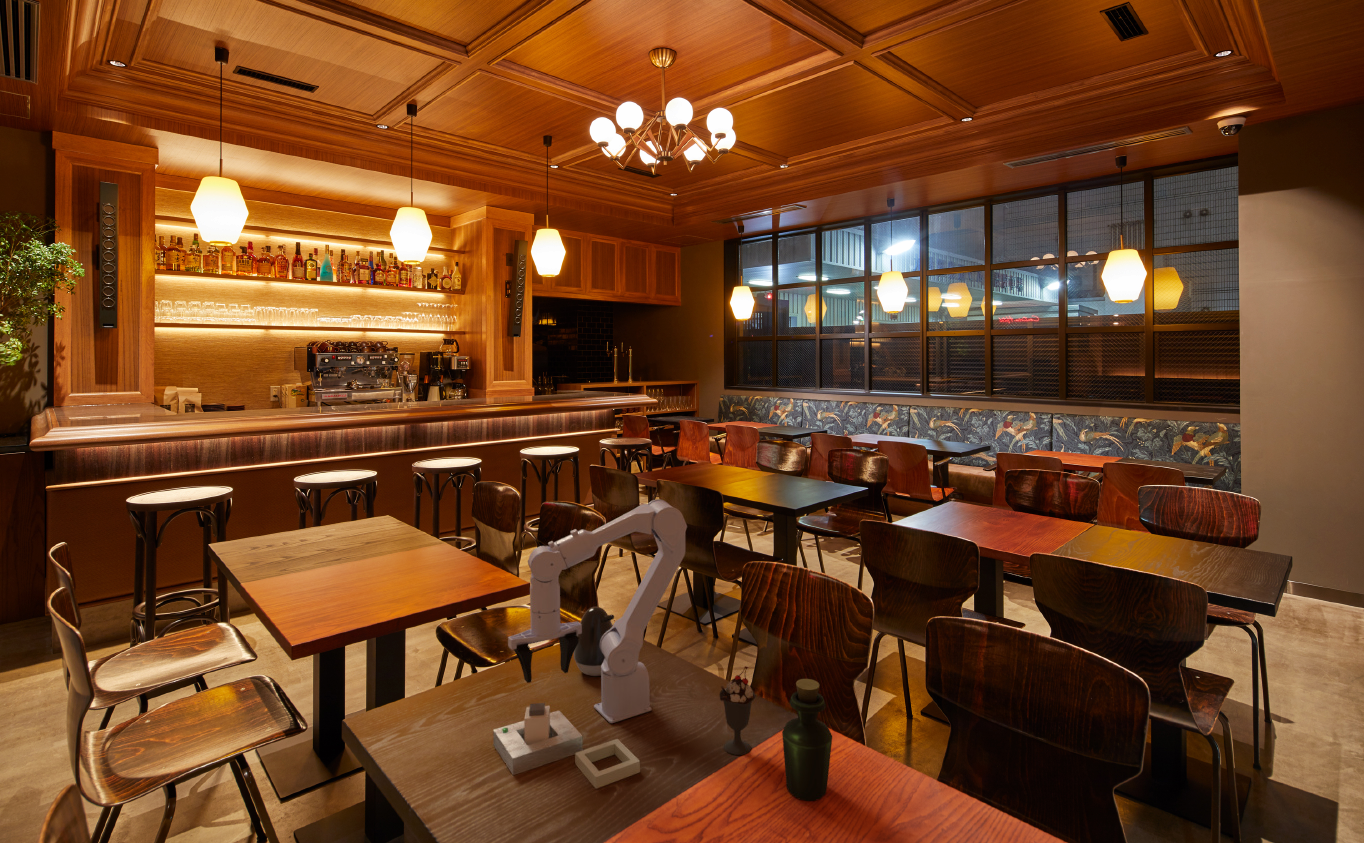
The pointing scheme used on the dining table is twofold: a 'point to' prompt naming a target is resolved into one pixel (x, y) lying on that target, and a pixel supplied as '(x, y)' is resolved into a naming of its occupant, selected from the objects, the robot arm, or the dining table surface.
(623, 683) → the robot arm
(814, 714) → the potion bottle
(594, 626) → the dark grey rounded figure
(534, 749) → the port block
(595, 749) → the beige square frame
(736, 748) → the sundae
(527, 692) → the dining table surface
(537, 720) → the plug
